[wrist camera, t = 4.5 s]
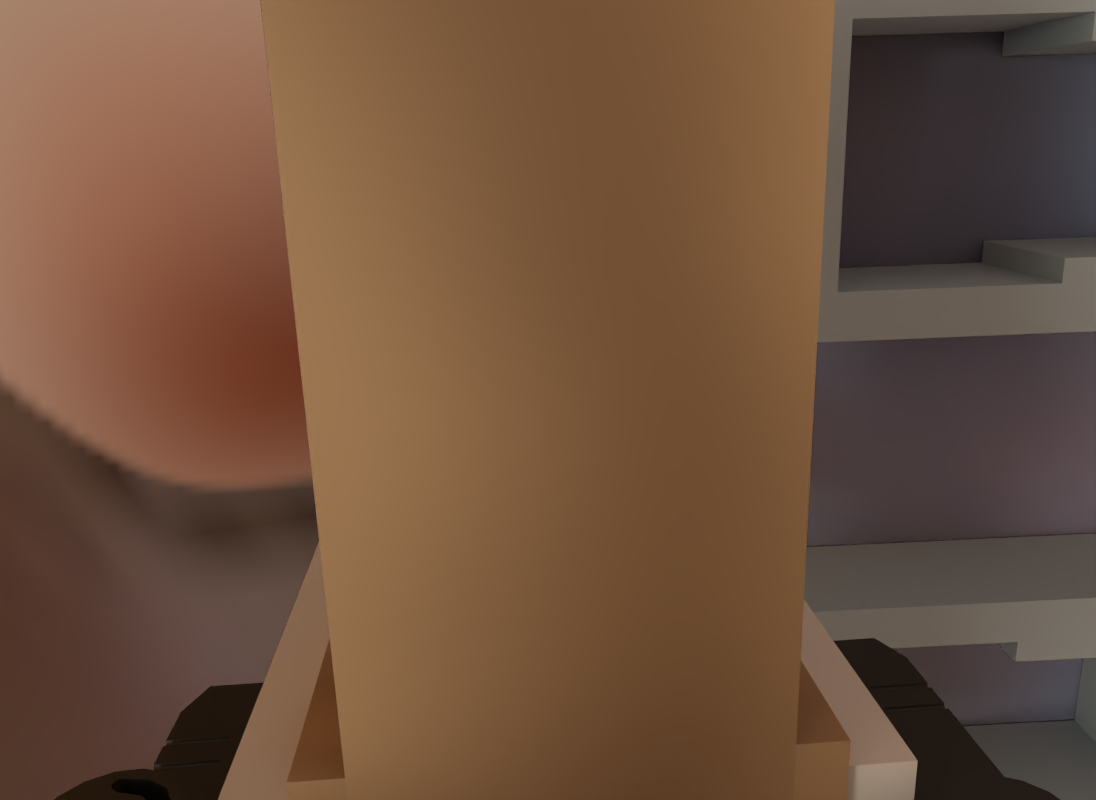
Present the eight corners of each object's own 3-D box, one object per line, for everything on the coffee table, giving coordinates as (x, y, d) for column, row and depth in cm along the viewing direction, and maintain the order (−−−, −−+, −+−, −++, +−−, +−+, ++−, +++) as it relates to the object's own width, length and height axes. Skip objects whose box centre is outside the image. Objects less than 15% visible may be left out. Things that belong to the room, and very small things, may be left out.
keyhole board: (713, 787, 25) (743, 878, 22) (730, -12, 19) (772, -40, 16) (1109, 764, 25) (1193, 851, 22) (1237, -26, 20) (1372, -56, 17)
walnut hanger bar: (422, 1028, 18) (388, 1569, 11) (326, -45, 12) (151, -256, 6) (677, 1005, 18) (794, 1516, 11) (689, -51, 13) (921, -260, 6)
